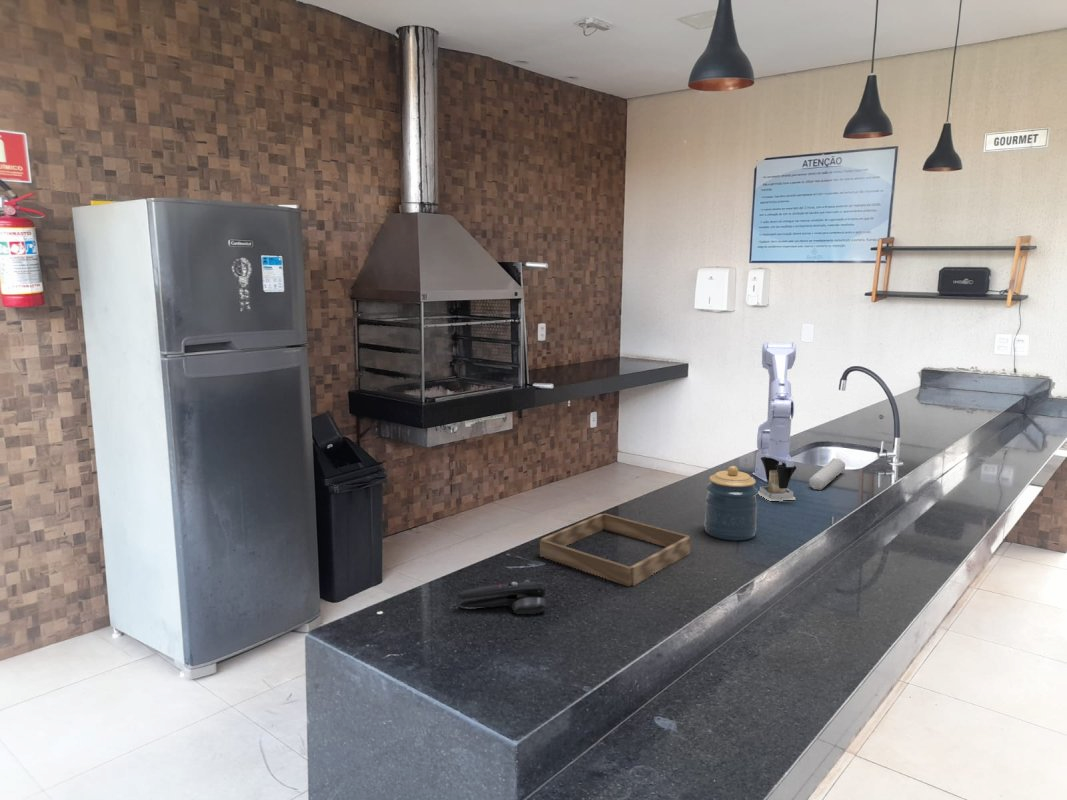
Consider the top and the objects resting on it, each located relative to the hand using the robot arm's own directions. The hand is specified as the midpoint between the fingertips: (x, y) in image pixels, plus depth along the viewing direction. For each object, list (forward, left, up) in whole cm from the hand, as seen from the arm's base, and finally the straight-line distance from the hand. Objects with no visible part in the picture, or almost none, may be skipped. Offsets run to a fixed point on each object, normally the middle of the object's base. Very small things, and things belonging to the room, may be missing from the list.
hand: (776, 484), depth 218 cm
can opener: (+60, -89, -4) cm, 107 cm away
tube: (-13, +24, -4) cm, 28 cm away
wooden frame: (+36, -59, -4) cm, 69 cm away
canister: (+26, -26, -4) cm, 37 cm away
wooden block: (0, 0, -3) cm, 3 cm away
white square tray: (0, 0, -4) cm, 4 cm away
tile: (0, 0, -4) cm, 4 cm away
